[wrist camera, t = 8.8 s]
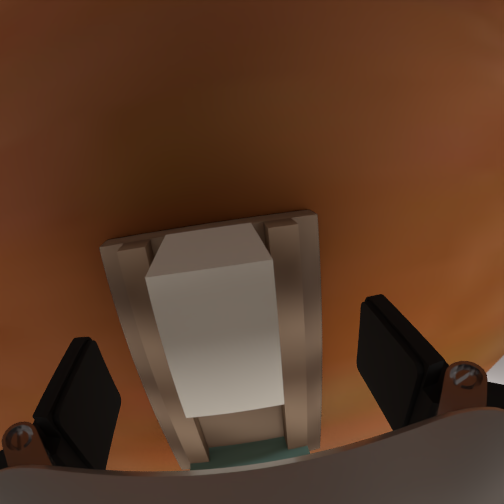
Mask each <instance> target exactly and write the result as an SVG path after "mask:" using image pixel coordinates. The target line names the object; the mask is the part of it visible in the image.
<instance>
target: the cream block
mask: <svg viewBox="0 0 504 504" xmlns="http://www.w3.org/2000/svg"><path fill="white" fill-rule="evenodd" d="M145 280H146V284H147V288H148V292H149V296H150V300H151V304H152V308H153V312H154V316H155V320H156V323H157V327H158V331H159V334H160V338H161V341H162V345H163V348H164V352H165V355H166V358H167V362H168V365H169V368H170V371H171V375H172V378H173V381H174V384H175V387H176V390H177V393H178V396H179V399H180V402H181V405H182V408H183V411H184V413H185V416H186V418H192V417H202V416H211V415H220V414H228V413H235V412H242V411H248V410H255V409H261V408H266V407H272V406H278V405H283V404H284V391H283V377H282V364H281V351H280V338H279V325H278V313H277V301H276V289H275V278H274V267H273V259H272V257H271V256H270V254H269V252H268V250H267V249H266V247H265V245H264V244H263V242H262V240H261V239H260V237H259V235H258V234H257V232H256V230H255V229H254V227H253V225H252V224H251V223H244V224H237V225H230V226H222V227H215V228H208V229H201V230H194V231H188V232H181V233H174V234H168V235H165V237H164V239H163V241H162V243H161V245H160V247H159V249H158V251H157V253H156V255H155V258H154V260H153V262H152V264H151V266H150V268H149V270H148V272H147V274H146V277H145Z"/></svg>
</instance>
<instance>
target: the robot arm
mask: <svg viewBox="0 0 504 504" xmlns="http://www.w3.org/2000/svg"><path fill="white" fill-rule="evenodd" d="M357 368H358V370H359V372H360V374H361V376H362V377H363V379H364V381H365V382H366V384H367V386H368V388H369V389H370V391H371V393H372V394H373V396H374V398H375V400H376V401H377V403H378V405H379V407H380V408H381V410H382V412H383V414H384V415H385V417H386V419H387V421H388V422H389V424H390V426H391V428H392V429H393V431H391V432H388V433H385V434H382V435H379V436H375V437H372V438H369V439H365V440H362V441H359V442H355V443H352V444H348V445H345V446H341V447H337V448H333V449H329V450H325V451H321V452H317V453H312V454H308V455H303V456H298V457H293V458H288V459H283V460H277V461H271V462H265V463H259V464H252V465H244V466H236V467H227V468H217V469H205V470H190V471H162V472H140V471H113V470H105V469H106V465H107V460H108V455H109V451H110V447H111V442H112V438H113V434H114V430H115V426H116V421H117V417H118V414H119V410H120V406H121V397H120V394H119V392H118V390H117V388H116V386H115V384H114V382H113V380H112V377H111V375H110V373H109V371H108V369H107V366H106V364H105V362H104V360H103V357H102V355H101V353H100V350H99V348H98V345H97V343H96V342H95V341H94V340H93V341H92V339H91V338H90V337H78V338H74V339H73V340H72V342H71V344H70V346H69V347H68V349H67V351H66V353H65V355H64V356H63V358H62V360H61V362H60V364H59V365H58V367H57V369H56V371H55V373H54V375H53V377H52V378H51V380H50V382H49V384H48V386H47V388H46V390H45V392H44V394H43V396H42V398H41V400H40V402H39V404H38V406H37V408H36V410H35V412H34V414H33V416H32V417H33V418H34V419H35V420H34V423H33V424H31V423H29V422H18V423H16V424H14V425H12V426H10V427H9V428H8V429H7V430H6V432H5V433H4V435H3V438H2V447H3V450H1V451H0V504H504V385H502V384H497V383H491V382H487V375H486V373H485V371H484V369H482V368H481V367H480V366H479V365H477V364H475V363H473V362H469V361H459V362H455V363H453V364H451V365H450V366H449V365H448V364H447V363H446V361H445V360H444V358H443V357H442V356H441V355H440V354H439V353H438V352H437V351H436V350H435V349H434V347H433V346H432V345H431V344H430V343H429V342H428V341H427V340H426V339H425V338H424V337H423V336H422V335H421V334H420V332H419V331H418V330H417V329H416V328H415V327H414V326H413V325H412V324H411V323H410V322H409V321H408V320H407V319H406V318H405V317H404V316H403V315H402V314H401V313H400V312H399V311H398V309H397V308H396V307H395V306H394V305H393V304H392V303H391V302H390V301H389V300H388V299H387V298H386V297H385V296H384V295H382V294H379V295H375V296H370V297H367V298H366V299H365V302H362V304H361V313H360V327H359V340H358V352H357Z"/></svg>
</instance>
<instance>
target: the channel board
mask: <svg viewBox="0 0 504 504" xmlns="http://www.w3.org/2000/svg"><path fill="white" fill-rule="evenodd" d="M244 223H251V224H252V225H253V227H254V229H255V230H256V232H257V234H258V235H259V237H260V239H261V240H262V242H263V244H264V245H265V247H266V249H267V250H268V252H269V254H270V256H271V257H272V259H273V267H274V278H275V289H276V301H277V313H278V325H279V338H280V351H281V364H282V377H283V391H284V404H283V405H278V406H272V407H266V408H261V409H255V410H248V411H242V412H235V413H228V414H220V415H211V416H202V417H192V418H186V416H185V413H184V411H183V408H182V405H181V402H180V399H179V396H178V393H177V390H176V387H175V384H174V381H173V378H172V375H171V371H170V368H169V365H168V362H167V358H166V355H165V352H164V348H163V345H162V341H161V338H160V334H159V331H158V327H157V323H156V320H155V316H154V312H153V308H152V304H151V300H150V296H149V292H148V288H147V284H146V280H145V277H146V274H147V272H148V270H149V268H150V266H151V264H152V262H153V260H154V258H155V255H156V253H157V251H158V249H159V247H160V245H161V243H162V241H163V239H164V237H165V235H168V234H174V233H181V232H188V231H194V230H201V229H208V228H215V227H222V226H230V225H237V224H244ZM99 249H100V253H101V257H102V261H103V265H104V269H105V272H106V276H107V280H108V283H109V287H110V291H111V294H112V297H113V301H114V304H115V307H116V311H117V314H118V317H119V320H120V323H121V326H122V329H123V332H124V335H125V338H126V341H127V344H128V347H129V350H130V352H131V355H132V358H133V361H134V363H135V366H136V369H137V371H138V374H139V377H140V379H141V382H142V384H143V387H144V389H145V392H146V394H147V396H148V399H149V401H150V404H151V406H152V408H153V410H154V413H155V415H156V417H157V420H158V422H159V424H160V426H161V428H162V431H163V433H164V435H165V437H166V439H167V441H168V443H169V445H170V447H171V449H172V451H173V453H174V455H175V457H176V459H177V461H178V463H179V465H180V467H181V469H182V470H184V469H190V470H205V469H217V468H227V467H236V466H244V465H252V464H259V463H265V462H271V461H277V460H283V459H288V458H293V457H298V456H303V455H308V454H310V452H309V451H311V450H315V449H319V448H320V434H321V405H322V304H321V273H320V251H319V233H318V217H317V214H316V213H314V212H313V211H311V210H301V211H293V212H286V213H278V214H271V215H263V216H256V217H249V218H242V219H235V220H228V221H221V222H215V223H208V224H201V225H195V226H188V227H182V228H176V229H170V230H163V231H157V232H151V233H145V234H139V235H133V236H128V237H122V238H116V239H110V240H107V241H105V242H104V243H103V244H102V245H101V246H100V247H99Z"/></svg>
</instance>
